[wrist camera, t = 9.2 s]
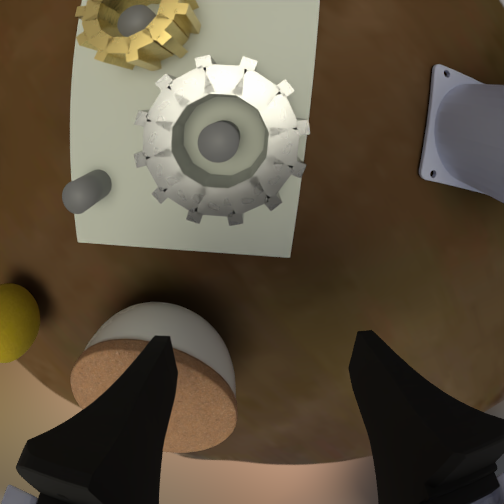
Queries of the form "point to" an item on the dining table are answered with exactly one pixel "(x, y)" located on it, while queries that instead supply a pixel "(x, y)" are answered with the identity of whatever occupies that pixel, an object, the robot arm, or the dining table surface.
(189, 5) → the brass gear
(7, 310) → the lemon
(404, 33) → the dining table surface
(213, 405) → the lidded jar
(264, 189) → the gear
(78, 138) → the gear board
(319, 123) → the dining table surface
